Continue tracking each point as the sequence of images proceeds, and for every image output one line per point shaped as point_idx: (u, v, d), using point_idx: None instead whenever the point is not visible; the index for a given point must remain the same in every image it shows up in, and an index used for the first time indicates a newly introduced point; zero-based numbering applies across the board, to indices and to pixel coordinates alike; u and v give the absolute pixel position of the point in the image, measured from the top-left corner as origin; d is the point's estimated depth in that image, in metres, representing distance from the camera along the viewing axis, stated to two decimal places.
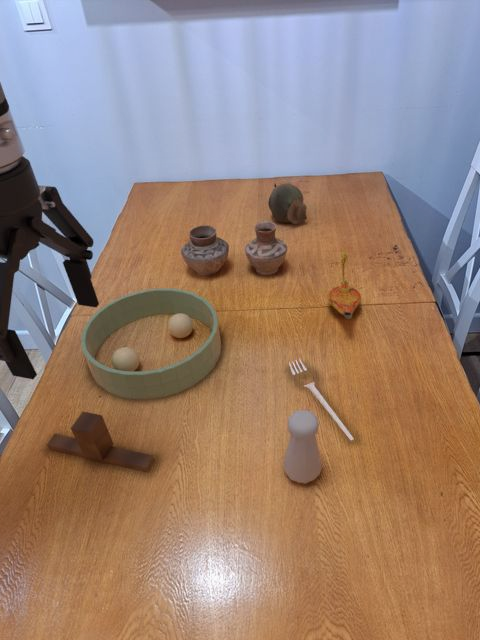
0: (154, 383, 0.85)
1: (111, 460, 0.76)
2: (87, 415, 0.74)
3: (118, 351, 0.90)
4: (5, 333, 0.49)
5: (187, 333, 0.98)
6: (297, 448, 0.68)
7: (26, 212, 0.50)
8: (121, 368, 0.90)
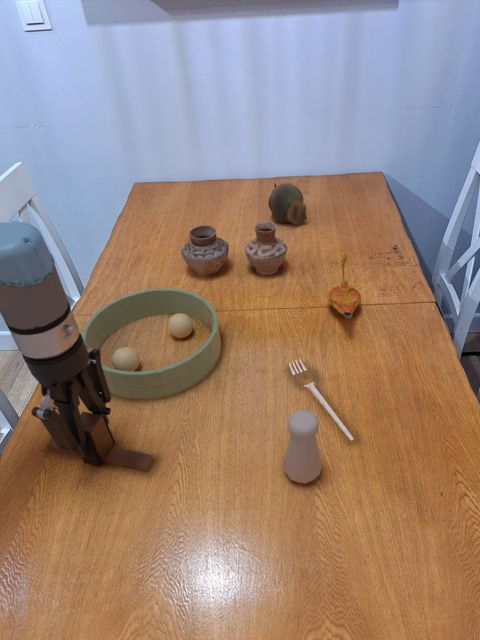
0: (154, 383, 0.85)
1: (111, 460, 0.76)
2: (87, 415, 0.74)
3: (118, 351, 0.90)
4: (85, 439, 0.71)
5: (187, 333, 0.98)
6: (297, 448, 0.68)
7: None
8: (121, 368, 0.90)
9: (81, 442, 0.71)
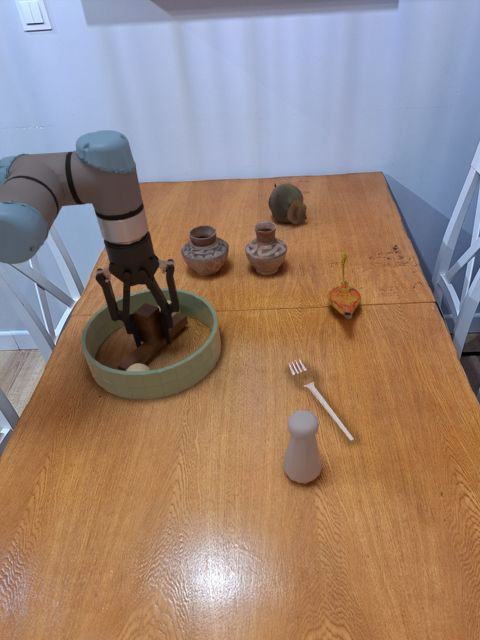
0: (154, 383, 0.85)
1: None
2: (139, 309, 0.90)
3: None
4: None
5: None
6: (297, 448, 0.68)
7: None
8: None
9: None
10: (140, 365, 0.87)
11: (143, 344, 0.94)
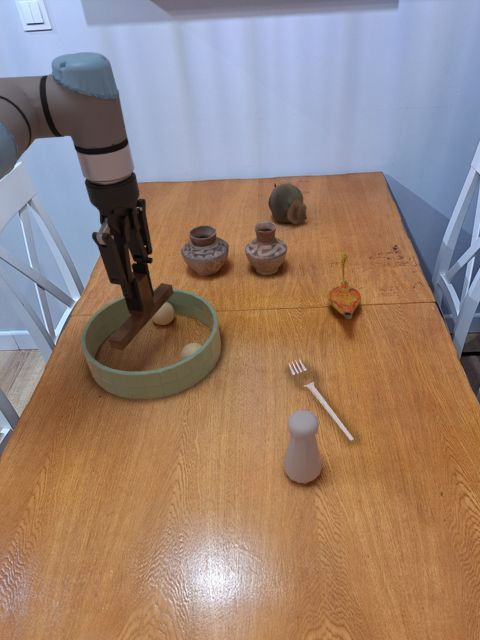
0: (154, 383, 0.85)
1: (155, 303, 0.91)
2: None
3: None
4: (133, 258, 0.86)
5: None
6: (297, 448, 0.68)
7: None
8: None
9: None
10: None
11: (132, 316, 0.88)
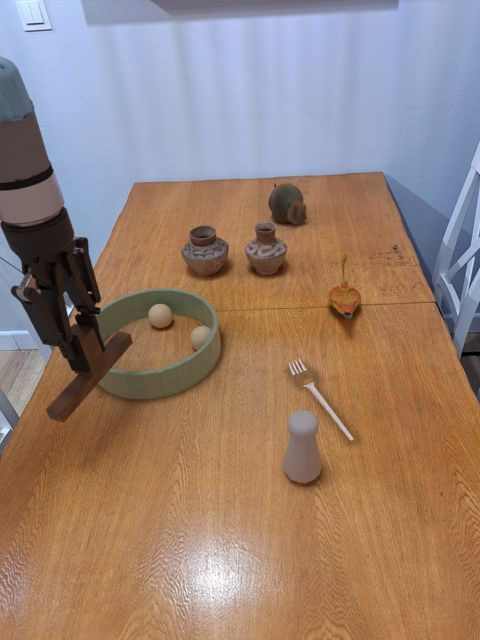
0: (154, 383, 0.85)
1: (108, 358, 0.75)
2: None
3: None
4: None
5: (155, 308, 1.00)
6: (297, 448, 0.68)
7: None
8: None
9: None
10: (199, 332, 0.93)
11: (78, 377, 0.72)
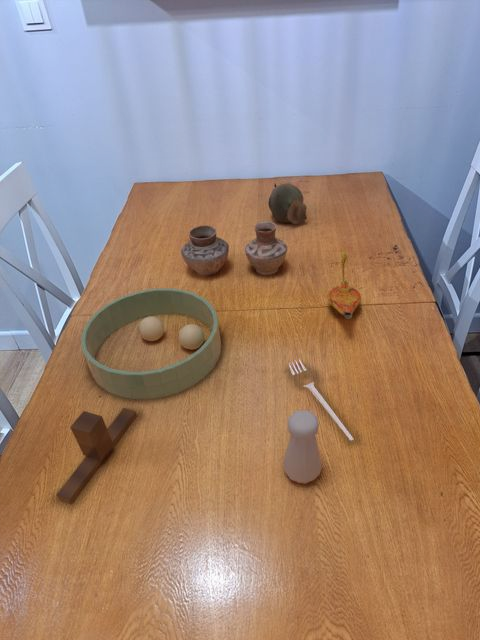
0: (154, 383, 0.85)
1: (115, 439, 0.80)
2: (78, 422, 0.73)
3: (200, 330, 0.95)
4: None
5: (146, 339, 0.98)
6: (297, 448, 0.68)
7: None
8: (199, 346, 0.96)
9: None
10: (179, 333, 0.95)
11: (86, 459, 0.77)
